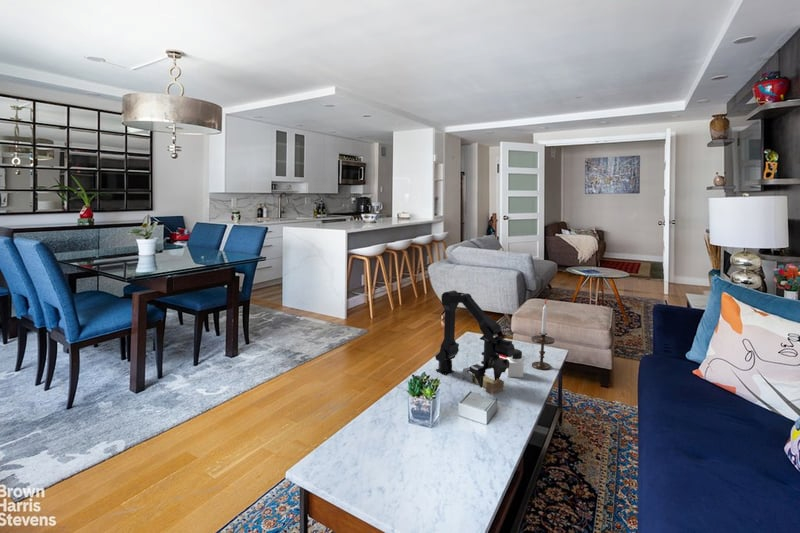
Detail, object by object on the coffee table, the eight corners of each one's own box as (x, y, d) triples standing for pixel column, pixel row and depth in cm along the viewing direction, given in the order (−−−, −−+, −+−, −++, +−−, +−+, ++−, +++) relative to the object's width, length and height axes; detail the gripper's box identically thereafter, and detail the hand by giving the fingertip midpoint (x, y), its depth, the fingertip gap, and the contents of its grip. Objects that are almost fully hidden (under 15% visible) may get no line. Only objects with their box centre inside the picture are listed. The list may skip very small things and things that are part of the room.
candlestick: (555, 371, 213) (560, 300, 207) (533, 370, 213) (537, 300, 208) (548, 362, 223) (553, 295, 218) (527, 362, 224) (531, 295, 218)
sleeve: (462, 378, 202) (463, 368, 202) (473, 375, 206) (473, 365, 205) (471, 383, 197) (471, 373, 197) (482, 380, 201) (482, 370, 200)
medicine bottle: (520, 371, 211) (521, 348, 209) (523, 377, 204) (524, 353, 202) (505, 371, 212) (506, 347, 210) (507, 377, 205) (508, 352, 203)
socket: (486, 391, 189) (486, 381, 189) (497, 387, 193) (498, 378, 192) (491, 394, 186) (492, 384, 186) (503, 390, 190) (504, 381, 190)
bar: (471, 380, 199) (471, 374, 199) (477, 378, 201) (478, 372, 201) (491, 391, 188) (492, 384, 188) (498, 389, 191) (498, 382, 190)
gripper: (487, 361, 179) (486, 397, 181) (519, 352, 189) (517, 386, 191) (469, 352, 188) (468, 387, 190) (500, 345, 198) (498, 378, 200)
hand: (488, 385), depth 193 cm, fingers open, 9 cm apart
